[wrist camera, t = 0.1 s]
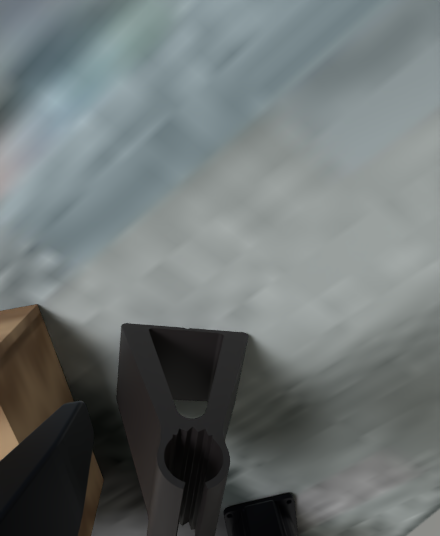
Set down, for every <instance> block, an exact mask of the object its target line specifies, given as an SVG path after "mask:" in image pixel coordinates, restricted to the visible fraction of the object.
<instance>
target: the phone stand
mask: <svg viewBox="0 0 440 536" xmlns="http://www.w3.org/2000/svg"><path fill="white" fill-rule="evenodd" d="M247 341H248V334H246V333H243V332H231V331H218V330H205V329H192V328H189V329H185V328H179V327H167V326H154V325H141V324H128V323H125V324H123V325H122V326H121V339H120V353H119V367H118V381H117V395H116V399H117V403H118V406H119V410H120V414H121V417H122V421H123V425H124V428H125V432H126V436H127V439H128V443H129V447H130V450H131V454H132V458H133V461H134V465H135V469H136V472H137V476H138V480H139V483H140V487H141V491H142V494H143V498H144V502H145V505H146V509H147V513H148V520H149V522H148V530H147V536H177V531H178V525H179V522H180V524H181V525H184V524H186V523H187V522H189V524H190V527H191V530H192V529H195V536H215V531H216V526H217V522H218V517H219V512H220V508H221V503H222V499H223V494H224V489H225V485H226V480H227V475H228V471H229V466H230V456H229V452H228V449H227V446H226V443H225V438H226V434H227V430H228V426H229V423H230V419H231V415H232V411H233V408H234V404H235V399H236V394H237V389H238V384H239V380H240V375H241V370H242V365H243V360H244V355H245V351H246V346H247ZM173 400H195V401H208V405H207V409H206V412H205V414H204V415H203V416H201V417H199V418H195V419H190V418H186V417H183V416H182V415H180V414H179V413H178V411H177V409H176V407H175V404H174V401H173Z"/></svg>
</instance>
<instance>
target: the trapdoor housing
mask: <svg viewBox="0 0 440 536" xmlns="http://www.w3.org/2000/svg"><path fill="white" fill-rule="evenodd" d="M70 402H74V400H73V397H72V395H71V392H70V389H69V387H68V384H67V381H66V379H65V376H64V374H63V371H62V368H61V366H60V363H59V360H58V358H57V355H56V352H55V350H54V347H53V344H52V342H51V339H50V336H49V334H48V331H47V328H46V326H45V323H44V320H43V318H42V315H41V313H40V310H39V307H38V305H37V304H36V305H30V306H25V307H19V308H14V309H9V310H3V311H0V460H2V459H3V458H4V457H5V456H6V455H7V454H8V453H10V452H11V451H12V450H13V449H14V448H15V447H16V446H17V445H18V444H20V443H21V442H22V441H23V440H24V439H25V438H26V437H27V436H29V435H30V434H31V433H32V432H33V431H34V430H35V429H36V428H37V427H39V426H40V425H41V424H42V423H43V422H44V421H45V420H46V419H47V418H49V417H50V416H51V415H52V414H53V413H54V412H55V411H56V410H57V409H59V408H60V407H61V406H62V405H63V404H66V403H70ZM103 481H104V480H103V477H102V474H101V472H100V469H99V466H98V464H97V461H96V458H95V456H94V453H93V450H92V456H91V463H90V470H89V477H88V484H87V491H86V497H85V504H84V510H83V516H82V520H81V525H80V529H79V533H78V536H91V533H92V529H93V524H94V520H95V516H96V511H97V507H98V503H99V498H100V494H101V490H102V485H103Z"/></svg>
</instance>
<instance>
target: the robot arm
mask: <svg viewBox="0 0 440 536" xmlns="http://www.w3.org/2000/svg"><path fill="white" fill-rule="evenodd" d="M93 443H94V430H93V426H92V423H91V419H90V416H89V413H88V409H87V406H86V404H85V403H84V402H83V401H76V402H70V403H66V404H63V405H62V406H61V407H60V408H59V409H57V410H56V411H55V412H54V413H53V414H52V415H51V416H50V417H49V418H47V419H46V420H45V421H44V422H43V423H42V424H41V425H40V426H39V427H37V428H36V429H35V430H34V431H33V432H32V433H31V434H30V435H29V436H27V437H26V438H25V439H24V440H23V441H22V442H21V443H20V444H18V445H17V446H16V447H15V448H14V449H13V450H12V451H11V452H10V453H8V454H7V455H6V456H5V457H4V458H3V459H2V460H1V461H0V536H78V533H79V529H80V525H81V520H82V516H83V510H84V504H85V497H86V491H87V484H88V477H89V470H90V463H91V456H92V450H93ZM224 518H225V523H226V528H227V533H228V536H298V531H297V521H296V511H295V501H294V498H293V495H292V494H284V495H279V496H275V497H271V498H267V499H262V500H258V501H254V502H250V503H245V504H241V505H237V506H233V507H228V508H226V509H225V510H224Z"/></svg>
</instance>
